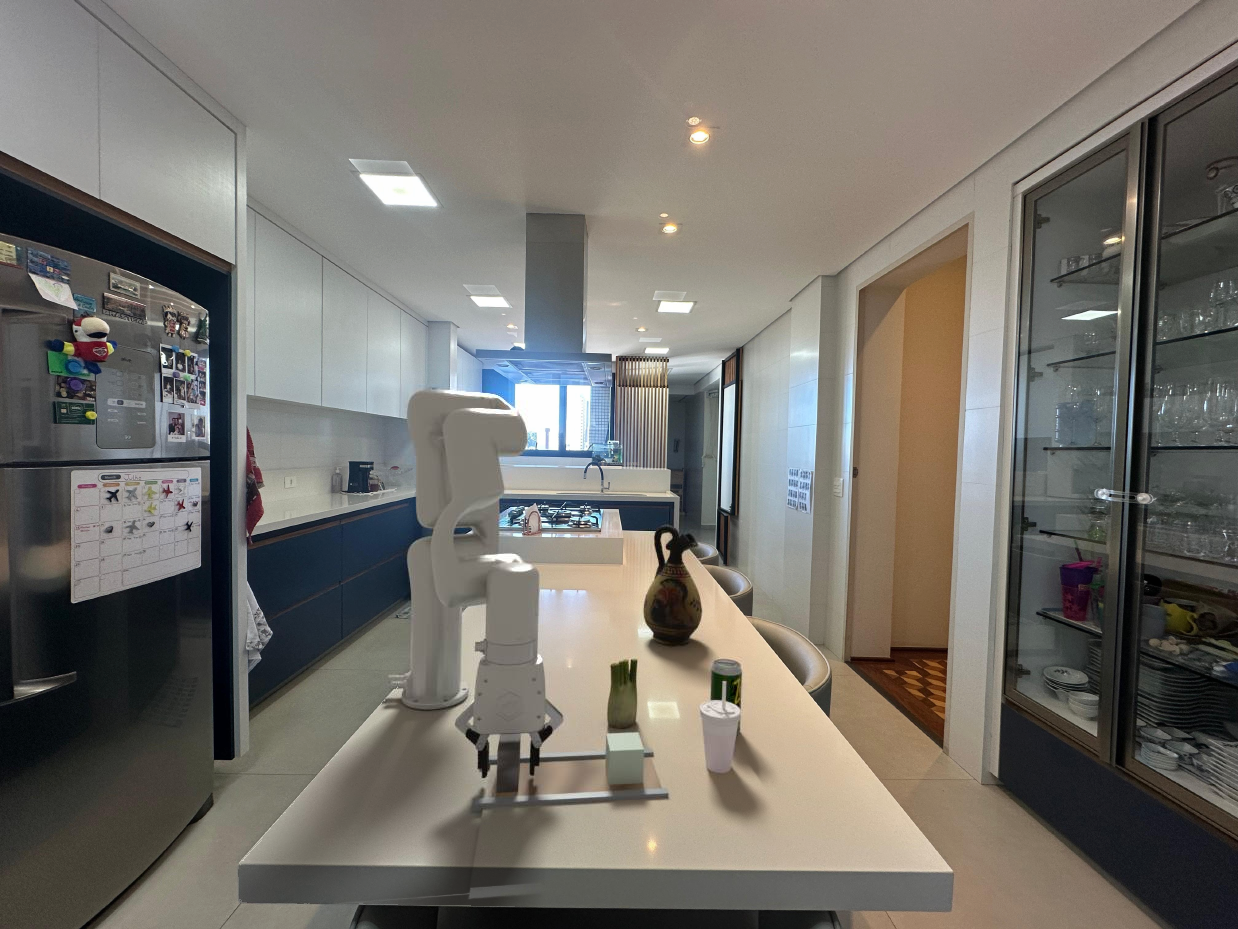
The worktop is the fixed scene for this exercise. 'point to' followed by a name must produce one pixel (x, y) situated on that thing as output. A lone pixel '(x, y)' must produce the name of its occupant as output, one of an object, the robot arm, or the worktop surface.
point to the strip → (557, 774)
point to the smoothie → (719, 732)
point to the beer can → (727, 682)
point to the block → (624, 758)
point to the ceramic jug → (672, 592)
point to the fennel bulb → (623, 695)
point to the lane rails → (568, 797)
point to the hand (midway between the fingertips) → (508, 770)
